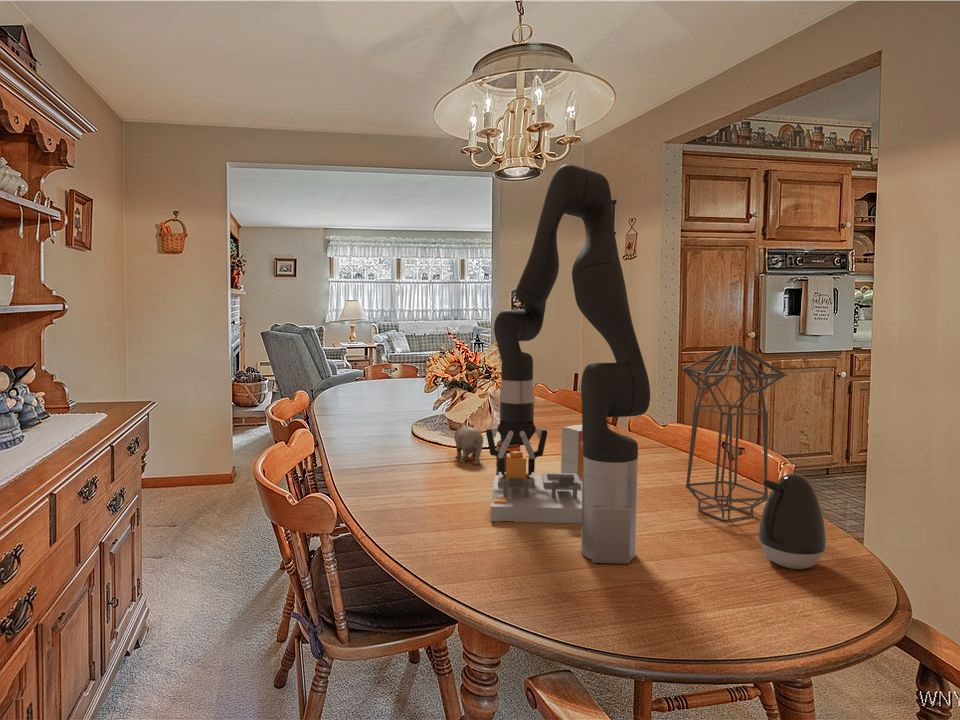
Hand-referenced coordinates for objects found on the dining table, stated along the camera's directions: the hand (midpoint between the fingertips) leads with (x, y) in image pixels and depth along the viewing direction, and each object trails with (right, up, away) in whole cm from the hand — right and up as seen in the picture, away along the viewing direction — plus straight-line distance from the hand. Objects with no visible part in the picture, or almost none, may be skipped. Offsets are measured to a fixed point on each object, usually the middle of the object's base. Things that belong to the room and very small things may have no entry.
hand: (516, 473), depth 144 cm
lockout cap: (0, -2, 0) cm, 2 cm away
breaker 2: (+9, 0, -11) cm, 15 cm away
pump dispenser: (+44, -9, -36) cm, 58 cm away
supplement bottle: (-1, -4, +15) cm, 16 cm away
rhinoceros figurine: (-11, -2, +35) cm, 37 cm away
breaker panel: (+5, -6, -6) cm, 9 cm away
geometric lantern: (+43, -6, -10) cm, 45 cm away
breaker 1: (-1, 0, -11) cm, 11 cm away
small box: (+17, -4, +14) cm, 22 cm away
